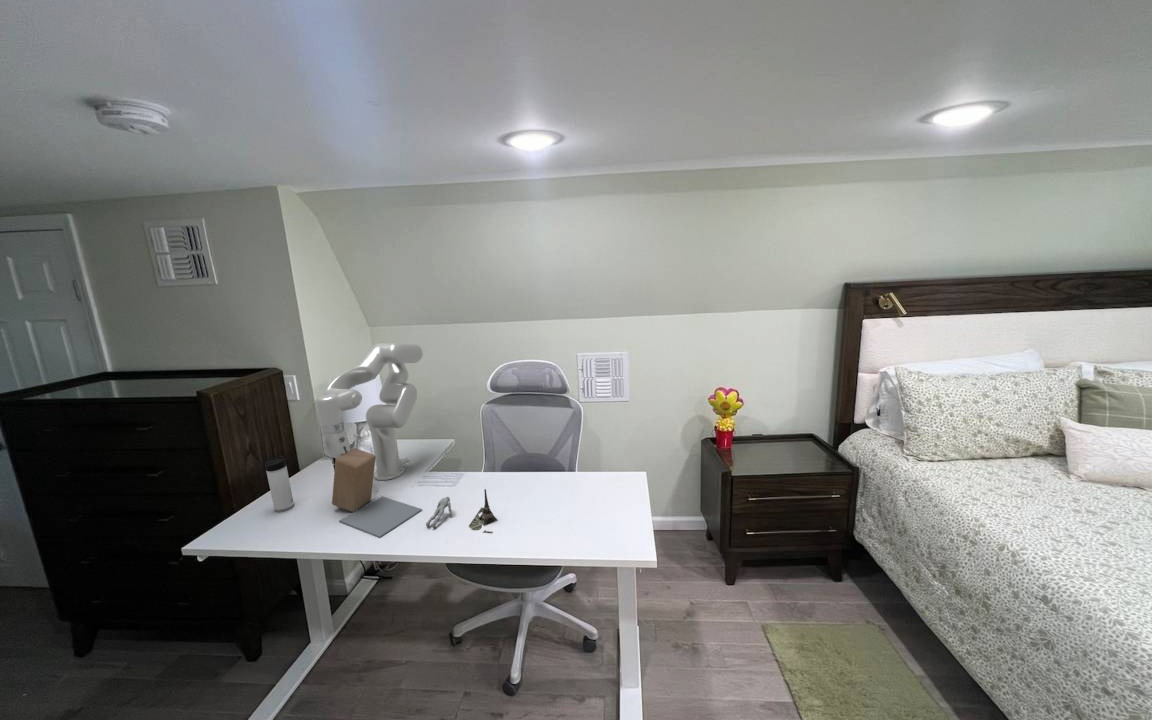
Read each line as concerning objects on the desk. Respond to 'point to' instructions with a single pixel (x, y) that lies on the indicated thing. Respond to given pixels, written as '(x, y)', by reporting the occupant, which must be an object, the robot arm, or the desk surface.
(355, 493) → the block
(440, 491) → the desk surface
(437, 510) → the grey humanoid figure
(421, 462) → the desk surface
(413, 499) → the desk surface
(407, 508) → the mat
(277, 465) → the travel mug
